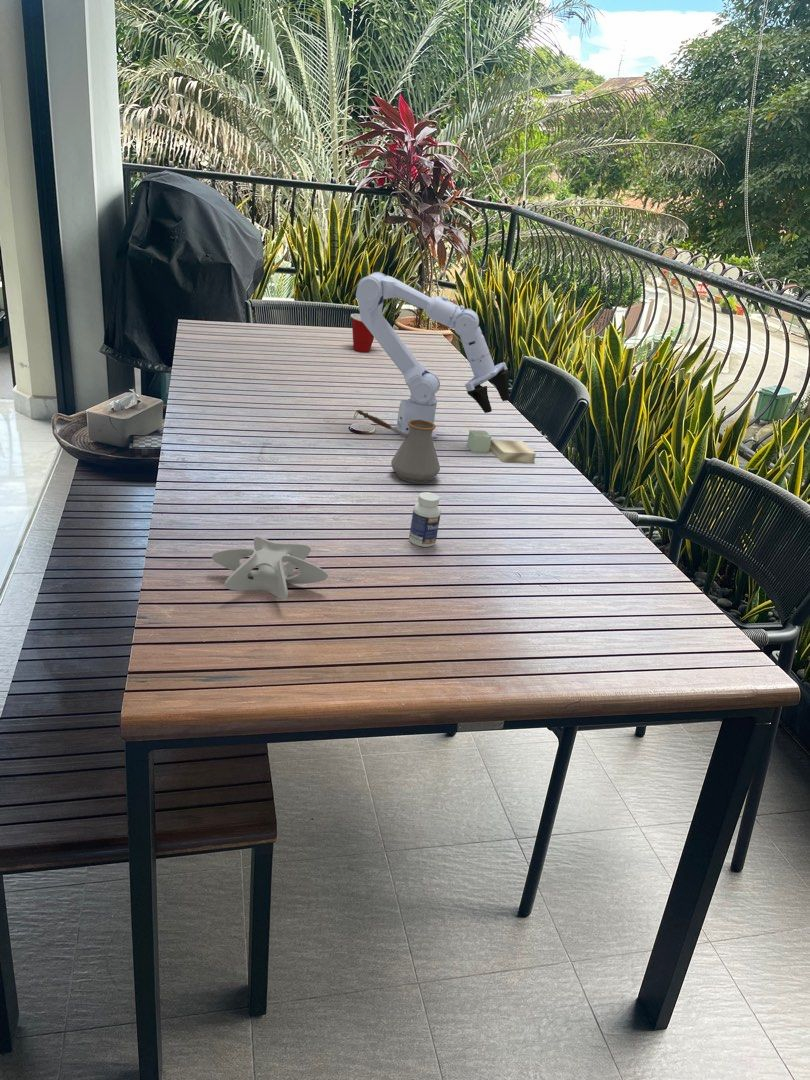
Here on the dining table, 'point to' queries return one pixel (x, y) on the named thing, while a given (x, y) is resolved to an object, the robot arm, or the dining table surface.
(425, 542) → the pill bottle
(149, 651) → the dining table surface
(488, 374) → the robot arm
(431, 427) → the coffee pot
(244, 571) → the sculpture
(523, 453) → the beige block
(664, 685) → the dining table surface
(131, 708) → the dining table surface
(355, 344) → the plastic cup
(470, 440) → the sage cube
